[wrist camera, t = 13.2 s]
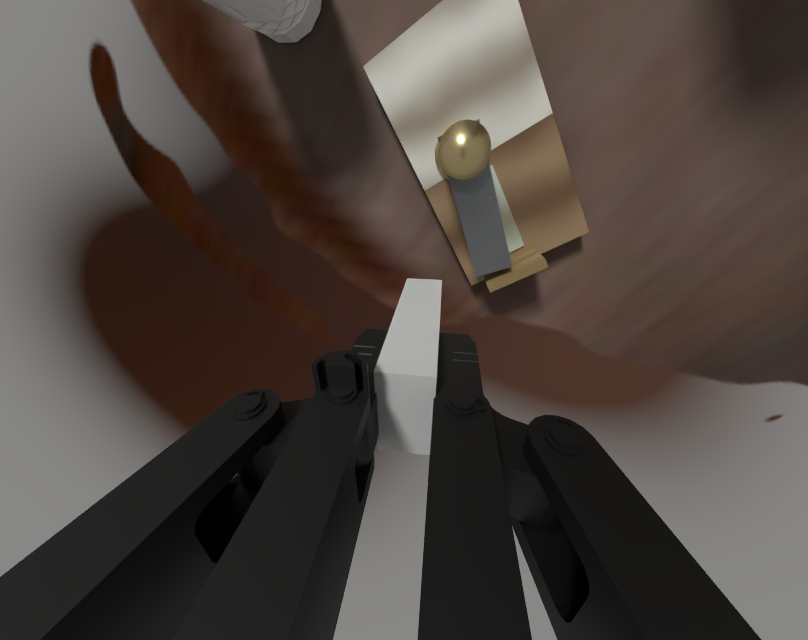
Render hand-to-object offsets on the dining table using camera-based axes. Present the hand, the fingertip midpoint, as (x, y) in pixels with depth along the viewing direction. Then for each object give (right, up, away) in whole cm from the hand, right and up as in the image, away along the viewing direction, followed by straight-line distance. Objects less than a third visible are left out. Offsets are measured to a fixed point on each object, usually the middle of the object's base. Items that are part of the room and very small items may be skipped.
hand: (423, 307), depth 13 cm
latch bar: (+5, +10, +12) cm, 16 cm away
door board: (+6, +14, +13) cm, 20 cm away
